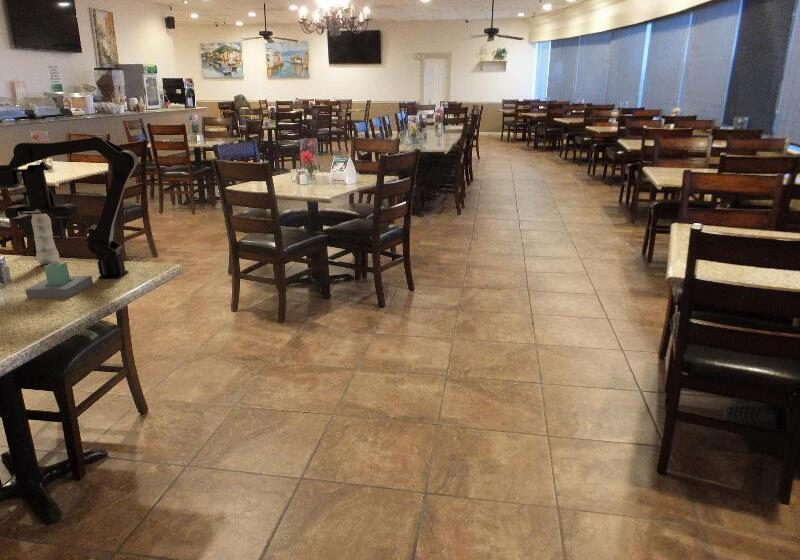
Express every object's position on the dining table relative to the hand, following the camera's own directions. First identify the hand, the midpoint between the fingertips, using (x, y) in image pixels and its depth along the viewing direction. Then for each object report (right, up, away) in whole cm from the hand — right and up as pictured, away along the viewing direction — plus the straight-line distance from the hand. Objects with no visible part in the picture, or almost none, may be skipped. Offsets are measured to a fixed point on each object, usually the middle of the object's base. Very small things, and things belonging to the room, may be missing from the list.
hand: (47, 239), depth 171 cm
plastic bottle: (-13, -7, +23) cm, 28 cm away
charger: (+7, -15, -5) cm, 17 cm away
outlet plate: (+7, -15, -5) cm, 17 cm away
